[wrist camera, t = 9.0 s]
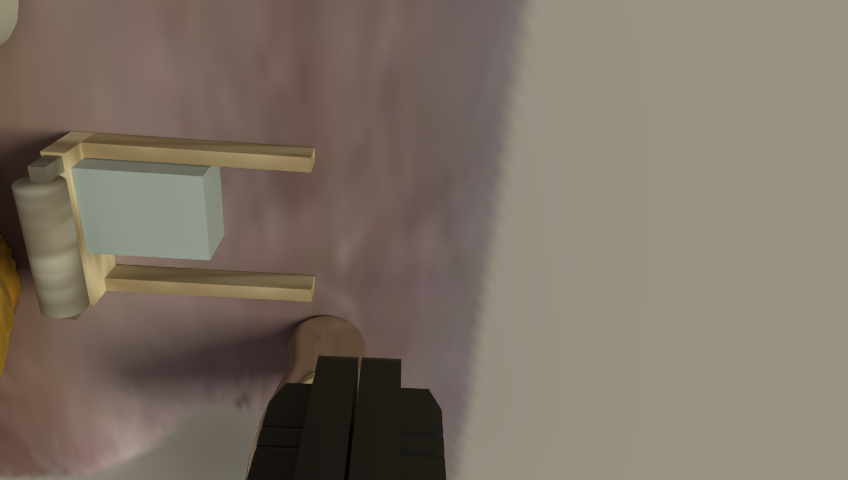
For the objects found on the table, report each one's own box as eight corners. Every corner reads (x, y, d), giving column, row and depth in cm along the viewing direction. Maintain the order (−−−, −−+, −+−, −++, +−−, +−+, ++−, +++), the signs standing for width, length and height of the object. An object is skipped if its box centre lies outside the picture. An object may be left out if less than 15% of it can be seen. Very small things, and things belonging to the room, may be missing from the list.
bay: (61, 130, 42) (-4, 170, 35) (314, 147, 43) (297, 190, 36) (88, 274, 47) (35, 333, 40) (314, 287, 48) (299, 346, 41)
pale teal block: (99, 146, 43) (71, 167, 39) (219, 154, 43) (202, 176, 40) (112, 226, 46) (86, 253, 42) (225, 233, 46) (209, 260, 42)
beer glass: (280, 376, 52) (235, 537, 38) (285, 305, 49) (239, 453, 35) (366, 386, 52) (351, 547, 39) (376, 315, 49) (364, 465, 36)
